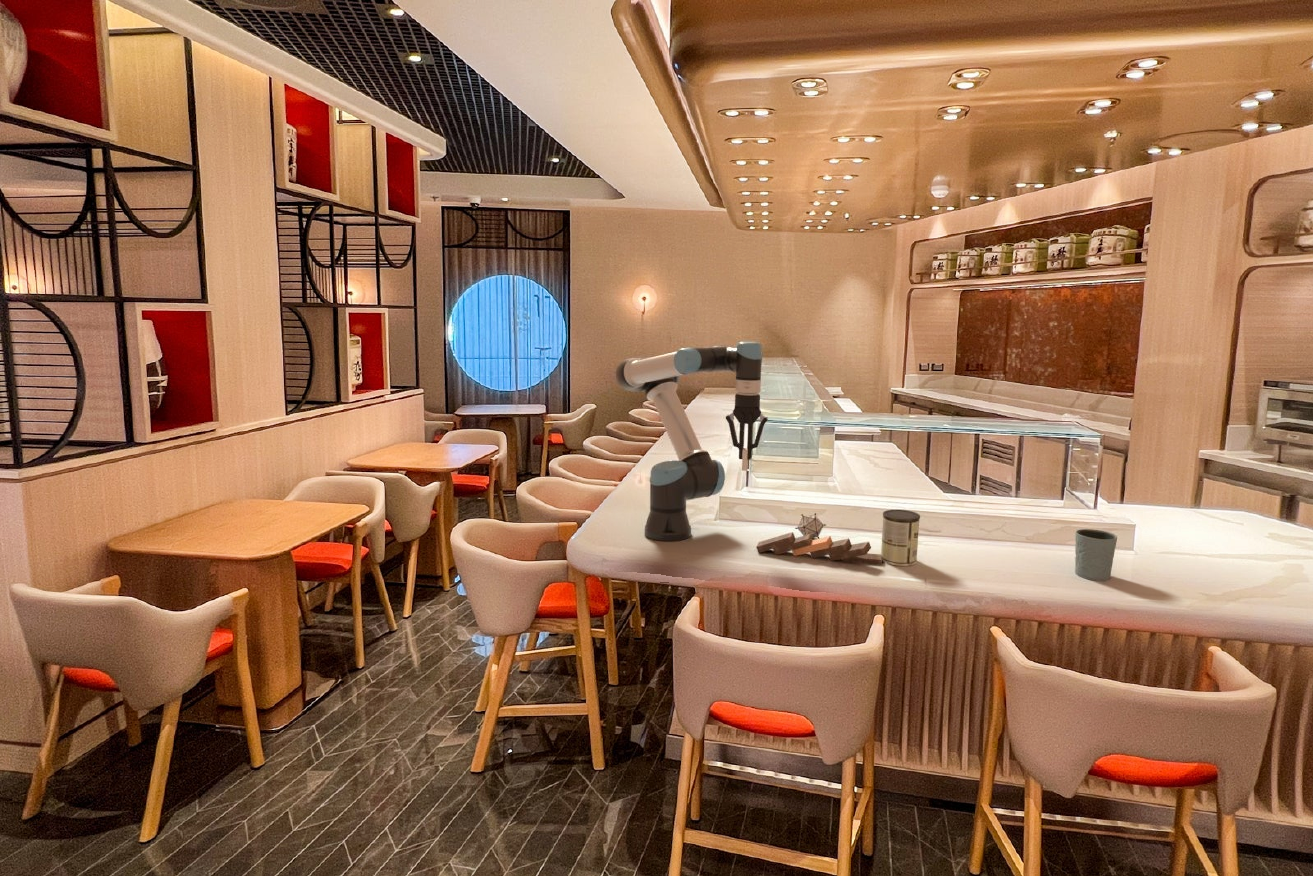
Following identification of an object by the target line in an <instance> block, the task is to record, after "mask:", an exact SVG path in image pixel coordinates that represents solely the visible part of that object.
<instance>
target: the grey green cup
mask: <svg viewBox="0 0 1313 876" xmlns="http://www.w3.org/2000/svg"><path fill="white" fill-rule="evenodd" d="M1117 542H1118V536H1117V535H1116V534H1115V533H1112V532H1109V531H1106V530H1100V529H1093V528H1092V529H1090V528H1089V529H1088V528H1083V529H1082V528H1081V529H1078V530H1075V547H1074V549H1075V558H1074V559H1075V564H1074V565H1075V566H1074V567H1075V569H1074V573H1075V575H1077V576H1078V577H1079V578H1083V579H1086V580H1089V581H1090V580H1091V581H1098V582H1099V581H1100V582H1104V581H1109V580H1110V579H1111V576H1112V569H1113V563H1114V558H1115V551H1116V546H1117Z"/></svg>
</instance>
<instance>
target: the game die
mask: <svg viewBox="0 0 1313 876" xmlns="http://www.w3.org/2000/svg"><path fill="white" fill-rule="evenodd" d="M800 514H801V517H802V518H801V519H800V522H799V524H798V526H797V527H795V528H794V529H796V530H797V529H798V531H799V532H800V533H801V535H802V536H805V535H808V534H810V536H811V538H812V539H814V538H817V539H819V538H820V534H821V532H822V530H823V528H824V527H826V526H827V524H826V523H823V522H822V521H821V520H820V519H819V518H818V517H817V516H816V515H817V513H816V512H815V513H814V514H813V515H804V514H802V513H800Z"/></svg>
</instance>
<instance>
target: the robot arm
mask: <svg viewBox="0 0 1313 876" xmlns="http://www.w3.org/2000/svg"><path fill="white" fill-rule="evenodd" d="M762 362H763V346H762V344H761V342H757V341H739V342H737V344H736V347H733V346H726V345H714V346H707V347H684V348H679V349H678V350H677V351H673V352H670V353H665V354H661V355H657V356H653V357H652V356H651V357H632V358H626V359H624V360H622V361H621V362H619V364H618V365H617V367H616V368H615V374H614V375H615V380H616V383H617V384H618V386H620V388H621V389H624V390H625V391H628V392H632V393H633V392H634V393H635V392H643V393H644V394H645V397H646V398H647V400H648V401H650V402H652V403H653V404H654V406H655V409H656V411H657V413H658V416H659V417H660V418H659V419H660V420H661V423H662V424H663V427H664V429H665V432H666V434H667V437H668V439H669V440H670V443H671V445H672V447H673V450H674V452H675V455H676V457H677V459H678V460H666V461H661V462H658V463H656V464H654V465H653V466H652V467H651V469H650V477H649V485H650V488H649V489H650V492H649V506H650V507H649V513H648V517H647V519H646V523H645V524H644V525H645V526H644V536H645V537H646V538H648V539H651V540H655V541H661V542H676V541H677V542H678V541H682V540H686V539H689V538H691V535H692V527H691V525H690V522H689V517H688V513H687V501H689V500H695V499H700V498H708V497H709V498H710V497H711V496H715V495H717V494H718V493H719V494H720V492H721V491H722V490H723V488H724V486H725V480H726V472H725V468H724V466H723V464H722V463H721V462H720V461H718V460H716V459H712V457H711V456H710V453H709V452H708V451H707V450H704V449H702V446H701V444H700V442H699V440H698V438H697V435H696V432H695V431H694V429H693V426H692V424H691V422H690V420H689V416H688V415H687V413H686V411H685V409H684V406H683V405H682V403H681V399H680V398H679V396H678V394H677V390H678V388H679V387H678V386H679V381H680V376H686V375H691V374H698V373H699V374H700V373H711V372H714V373H715V372H716V373H717V372H732V373H735V390H734V391H735V392H736V393H735V395H734V408H733V410H732V412H731V413H730V414H727V415H726V416H725V420H726V421H727V423H728V426H729V431H730V435H731V441H732V446H733V447H735V448H737V449H738V459H739V460H741V471H743V472H744V471H745V472H747V471H748V468H749V467H748V466H749V461H751V459H752V457H753V449H757V448H758V447H759V444H760V441H761V436H762V434H763V430H764V427H765V424H766V423H767V421H769V417H768V416H765V415H764V414H762V411H761V407H760V406H761V395H760V393H761V386H762ZM735 419H736V420H737V422H738V424H739V435H738V436H739V437H738V436H737V431H736V426H735V421H734V420H735ZM757 420H758V421H759V426H758V429H757V433H756V435H755V439H754V443H753V436H754V424H755V422H756V421H757ZM746 425H747V446H746V447H745V428H746Z"/></svg>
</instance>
